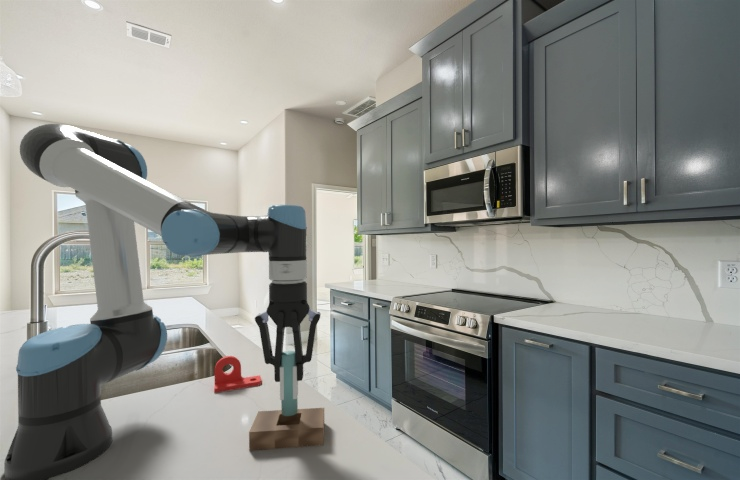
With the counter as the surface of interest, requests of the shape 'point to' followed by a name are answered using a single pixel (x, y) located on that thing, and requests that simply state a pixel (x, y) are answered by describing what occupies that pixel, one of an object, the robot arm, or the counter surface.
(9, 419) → the counter surface
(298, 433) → the hole block
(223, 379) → the bracket
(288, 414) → the peg
